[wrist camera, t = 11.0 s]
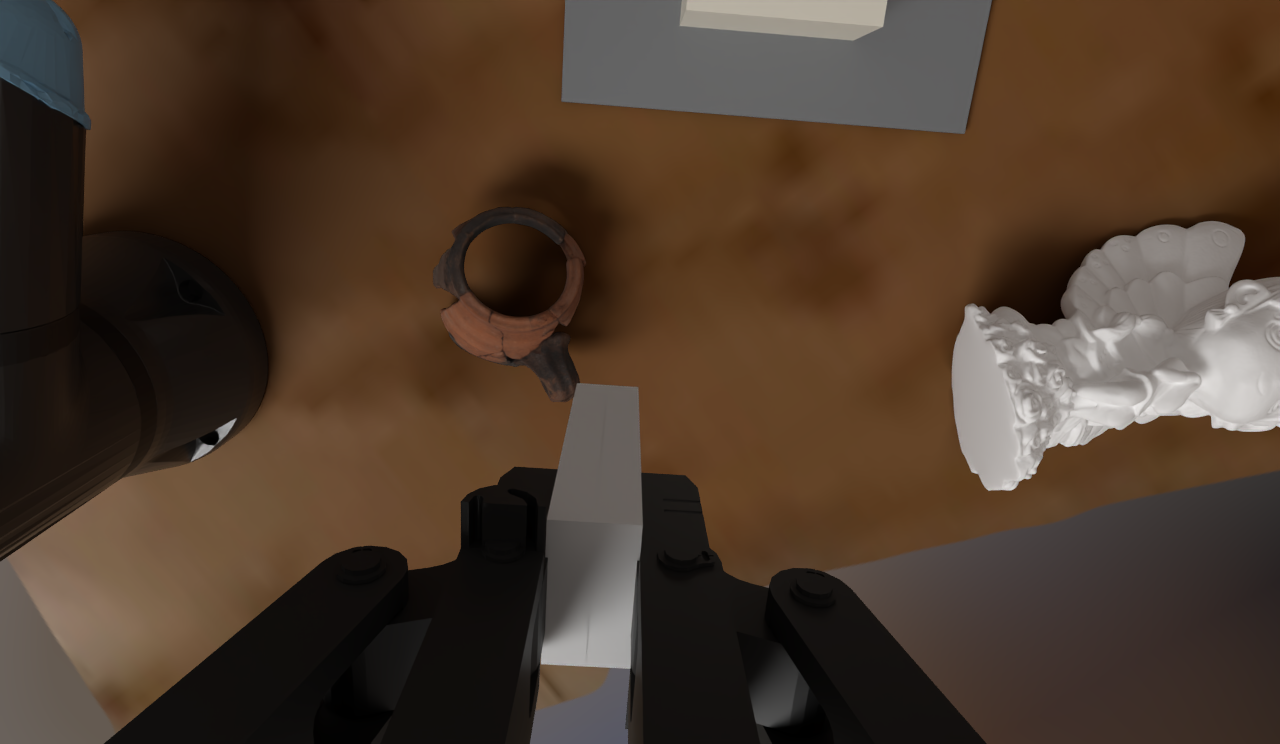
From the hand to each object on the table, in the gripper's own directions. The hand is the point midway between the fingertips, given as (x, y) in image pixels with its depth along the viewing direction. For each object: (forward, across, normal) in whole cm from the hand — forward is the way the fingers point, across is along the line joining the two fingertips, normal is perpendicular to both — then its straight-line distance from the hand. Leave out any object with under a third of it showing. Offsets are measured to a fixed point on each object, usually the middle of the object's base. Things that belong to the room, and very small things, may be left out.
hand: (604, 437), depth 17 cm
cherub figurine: (+29, +31, -3) cm, 42 cm away
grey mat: (+28, +8, +16) cm, 34 cm away
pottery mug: (+29, -6, -3) cm, 29 cm away
